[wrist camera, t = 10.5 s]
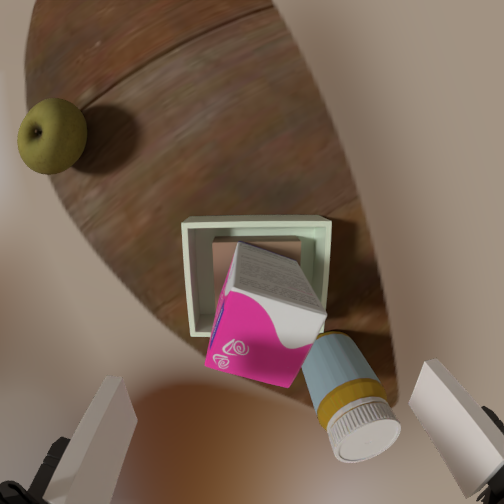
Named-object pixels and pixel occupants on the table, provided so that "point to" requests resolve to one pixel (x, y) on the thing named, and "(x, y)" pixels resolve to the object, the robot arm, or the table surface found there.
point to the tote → (207, 227)
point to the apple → (52, 136)
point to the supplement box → (264, 318)
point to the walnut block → (274, 243)
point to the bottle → (349, 399)
